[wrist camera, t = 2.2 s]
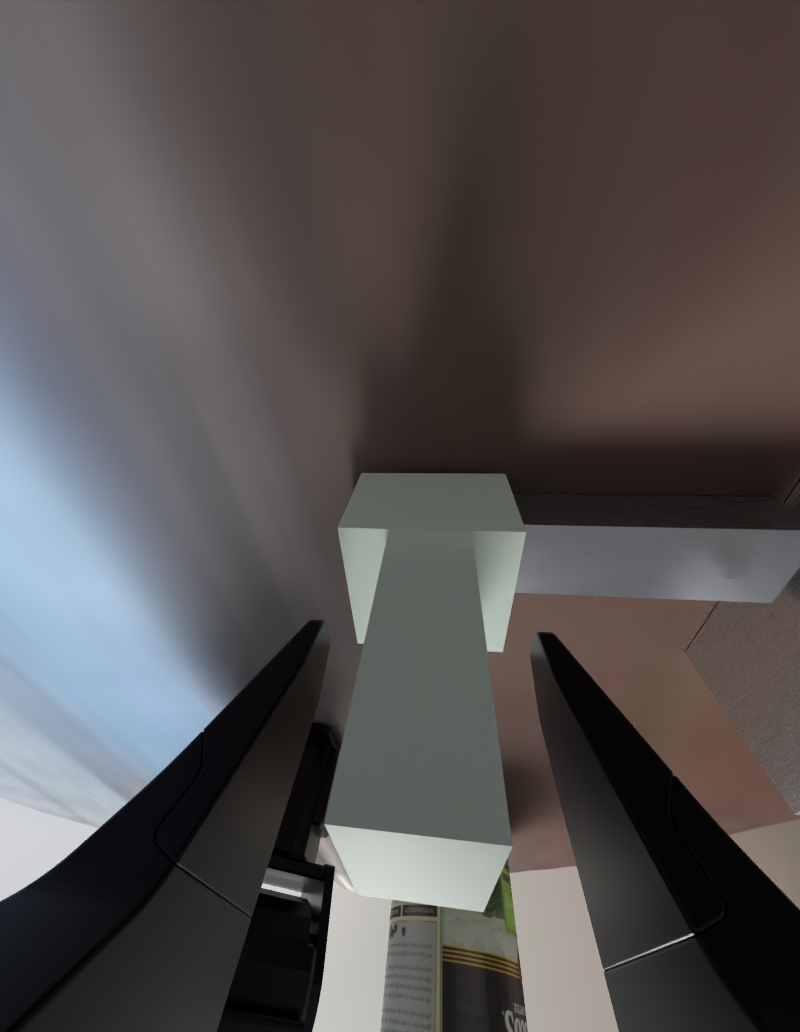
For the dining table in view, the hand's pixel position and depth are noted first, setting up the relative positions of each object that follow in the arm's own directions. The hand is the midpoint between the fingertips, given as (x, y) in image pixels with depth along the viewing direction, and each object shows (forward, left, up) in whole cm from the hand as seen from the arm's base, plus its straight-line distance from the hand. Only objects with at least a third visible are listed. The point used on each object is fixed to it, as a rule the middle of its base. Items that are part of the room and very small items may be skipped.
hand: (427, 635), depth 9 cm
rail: (+4, 0, -5) cm, 7 cm away
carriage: (0, 0, -5) cm, 5 cm away
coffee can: (+2, -35, -6) cm, 35 cm away
